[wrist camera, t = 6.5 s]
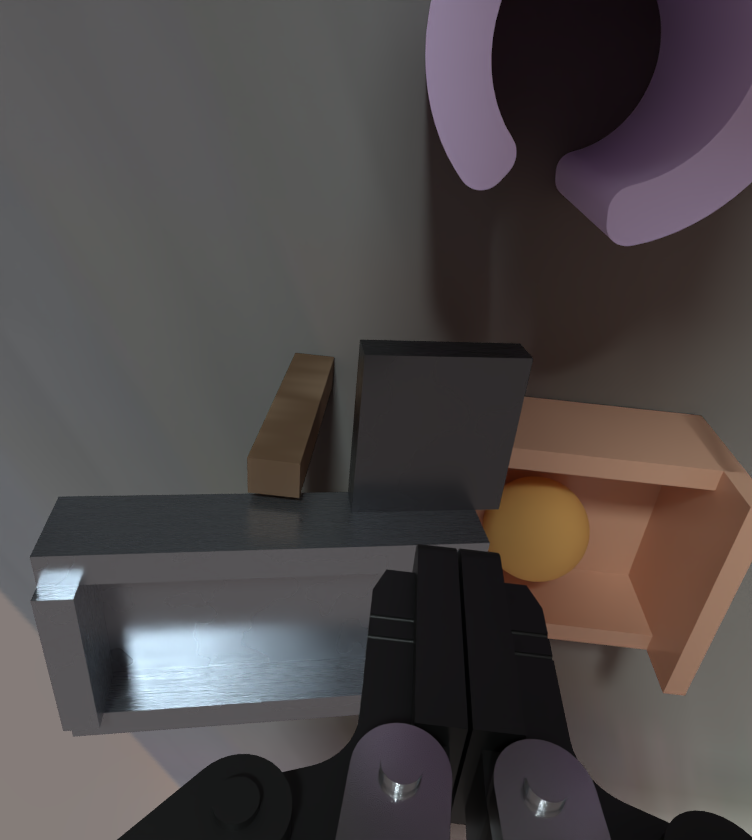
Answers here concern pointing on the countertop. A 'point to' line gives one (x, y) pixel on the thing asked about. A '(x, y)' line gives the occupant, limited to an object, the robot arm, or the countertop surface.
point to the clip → (634, 139)
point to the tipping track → (273, 558)
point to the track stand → (291, 428)
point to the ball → (537, 529)
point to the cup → (641, 528)
